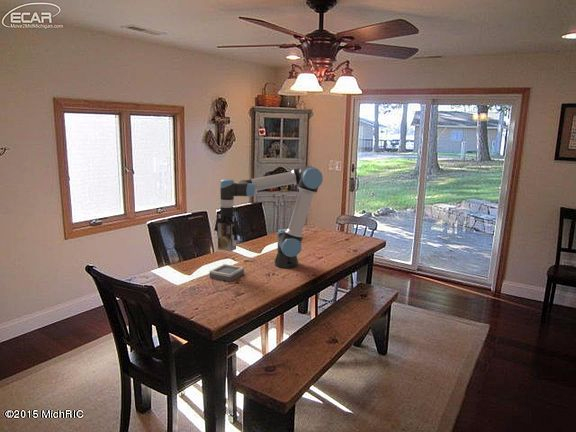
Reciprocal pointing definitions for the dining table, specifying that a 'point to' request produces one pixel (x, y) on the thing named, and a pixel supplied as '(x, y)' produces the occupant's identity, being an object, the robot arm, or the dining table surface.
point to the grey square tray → (226, 272)
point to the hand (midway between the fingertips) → (227, 244)
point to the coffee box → (225, 236)
